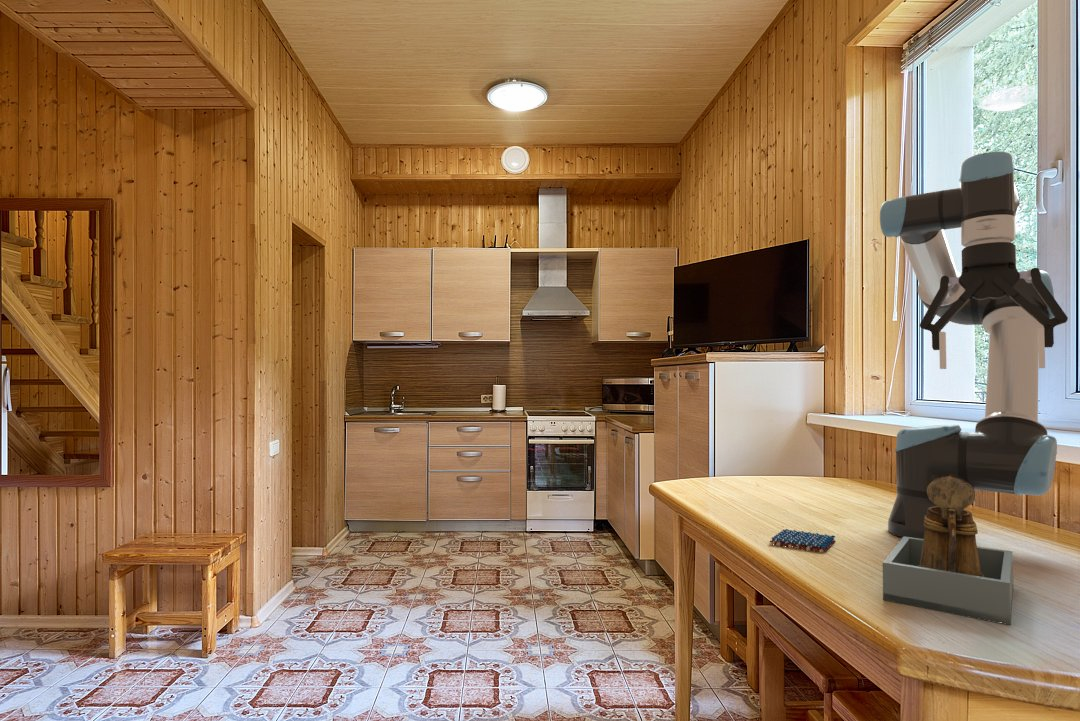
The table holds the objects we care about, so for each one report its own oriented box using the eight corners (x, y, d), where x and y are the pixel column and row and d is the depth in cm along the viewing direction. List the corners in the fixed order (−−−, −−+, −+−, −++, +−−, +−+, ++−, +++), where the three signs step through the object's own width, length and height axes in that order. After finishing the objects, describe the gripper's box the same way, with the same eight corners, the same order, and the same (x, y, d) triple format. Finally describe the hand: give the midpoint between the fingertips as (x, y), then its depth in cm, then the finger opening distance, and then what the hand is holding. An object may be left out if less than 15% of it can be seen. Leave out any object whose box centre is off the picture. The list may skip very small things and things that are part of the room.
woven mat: (781, 536, 130) (781, 527, 130) (836, 544, 124) (836, 534, 124) (767, 547, 122) (767, 537, 122) (825, 556, 115) (825, 545, 115)
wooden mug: (915, 593, 91) (913, 471, 91) (916, 570, 102) (914, 461, 103) (990, 605, 86) (987, 476, 87) (982, 579, 98) (980, 465, 98)
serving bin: (904, 568, 107) (903, 536, 107) (1013, 586, 97) (1012, 551, 97) (883, 599, 91) (882, 562, 91) (1010, 625, 82) (1009, 583, 82)
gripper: (901, 250, 110) (903, 368, 110) (1086, 229, 95) (1090, 367, 94) (907, 257, 116) (909, 369, 115) (1083, 238, 101) (1086, 368, 100)
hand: (990, 368), depth 105 cm, fingers open, 13 cm apart
